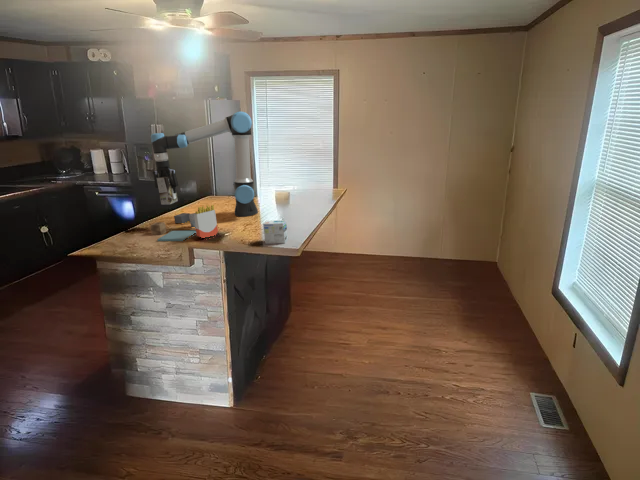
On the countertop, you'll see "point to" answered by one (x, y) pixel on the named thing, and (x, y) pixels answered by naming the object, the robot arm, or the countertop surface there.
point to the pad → (176, 236)
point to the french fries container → (205, 222)
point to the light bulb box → (275, 232)
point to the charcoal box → (182, 218)
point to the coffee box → (165, 190)
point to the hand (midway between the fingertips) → (169, 198)
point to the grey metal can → (192, 219)
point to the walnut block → (158, 228)
